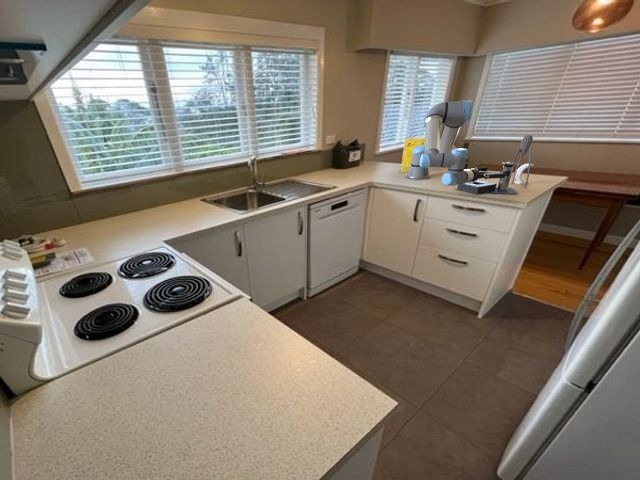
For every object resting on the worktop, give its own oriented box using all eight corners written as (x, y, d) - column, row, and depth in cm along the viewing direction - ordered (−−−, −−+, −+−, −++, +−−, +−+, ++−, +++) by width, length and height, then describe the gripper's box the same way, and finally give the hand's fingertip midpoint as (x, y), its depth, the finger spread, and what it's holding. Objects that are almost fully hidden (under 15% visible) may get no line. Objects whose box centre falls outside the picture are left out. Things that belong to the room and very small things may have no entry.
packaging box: (404, 168, 262) (408, 137, 251) (425, 168, 253) (430, 137, 242) (400, 171, 250) (404, 140, 239) (422, 172, 241) (427, 139, 230)
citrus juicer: (526, 187, 182) (543, 135, 169) (509, 188, 182) (524, 136, 169) (512, 183, 192) (527, 133, 179) (496, 184, 192) (510, 135, 179)
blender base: (474, 186, 192) (475, 179, 190) (494, 191, 180) (496, 183, 178) (456, 189, 190) (458, 182, 188) (476, 194, 177) (478, 187, 176)
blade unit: (494, 188, 183) (501, 160, 175) (507, 189, 180) (515, 160, 173) (496, 191, 178) (504, 162, 170) (509, 191, 175) (518, 162, 168)
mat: (487, 188, 187) (487, 187, 187) (511, 188, 182) (511, 187, 182) (491, 193, 176) (491, 192, 176) (516, 194, 171) (517, 193, 171)
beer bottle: (454, 178, 214) (462, 143, 204) (451, 176, 221) (458, 142, 210) (467, 178, 212) (475, 143, 202) (463, 176, 219) (470, 141, 208)
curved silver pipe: (527, 184, 188) (533, 164, 183) (516, 184, 189) (522, 165, 184) (523, 182, 192) (528, 163, 187) (512, 182, 193) (518, 163, 188)
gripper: (448, 178, 180) (476, 174, 185) (487, 186, 159) (518, 181, 163) (451, 166, 177) (479, 161, 181) (491, 172, 155) (522, 167, 160)
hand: (497, 171), depth 172 cm, fingers open, 13 cm apart
